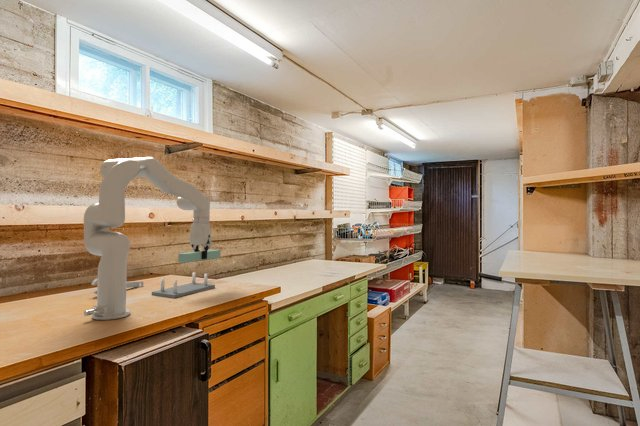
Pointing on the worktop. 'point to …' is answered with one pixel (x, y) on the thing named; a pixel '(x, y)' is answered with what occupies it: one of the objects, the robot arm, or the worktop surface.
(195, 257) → the bar
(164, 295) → the stand
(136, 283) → the wrench
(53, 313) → the worktop surface
